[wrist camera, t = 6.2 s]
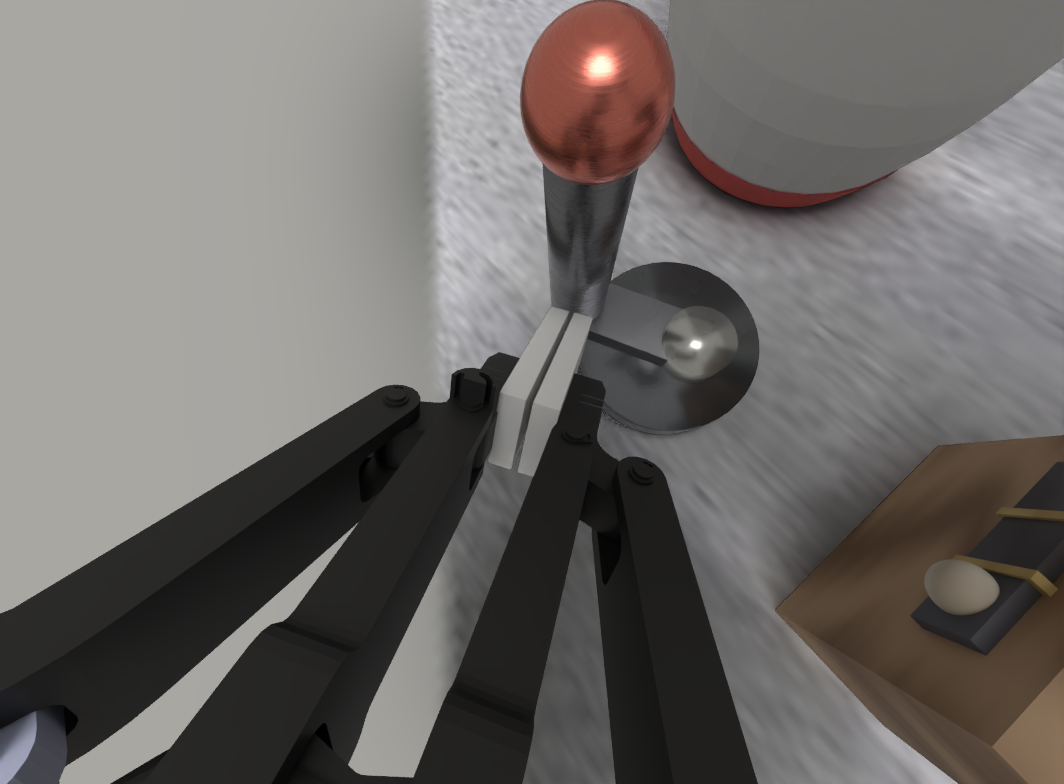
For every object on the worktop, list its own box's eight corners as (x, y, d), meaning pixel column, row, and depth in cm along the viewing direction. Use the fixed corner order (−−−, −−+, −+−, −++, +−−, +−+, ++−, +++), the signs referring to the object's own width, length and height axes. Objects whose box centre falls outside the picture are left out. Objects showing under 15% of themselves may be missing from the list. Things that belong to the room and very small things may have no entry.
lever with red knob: (762, 312, 22) (1187, -35, 7) (710, 460, 21) (1091, 418, 6) (576, 247, 23) (601, -160, 8) (516, 381, 22) (423, 186, 7)
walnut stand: (911, 422, 21) (1230, 372, 11) (1052, 546, 19) (1566, 620, 9) (749, 583, 20) (935, 689, 10) (883, 725, 18) (1255, 1013, 8)
